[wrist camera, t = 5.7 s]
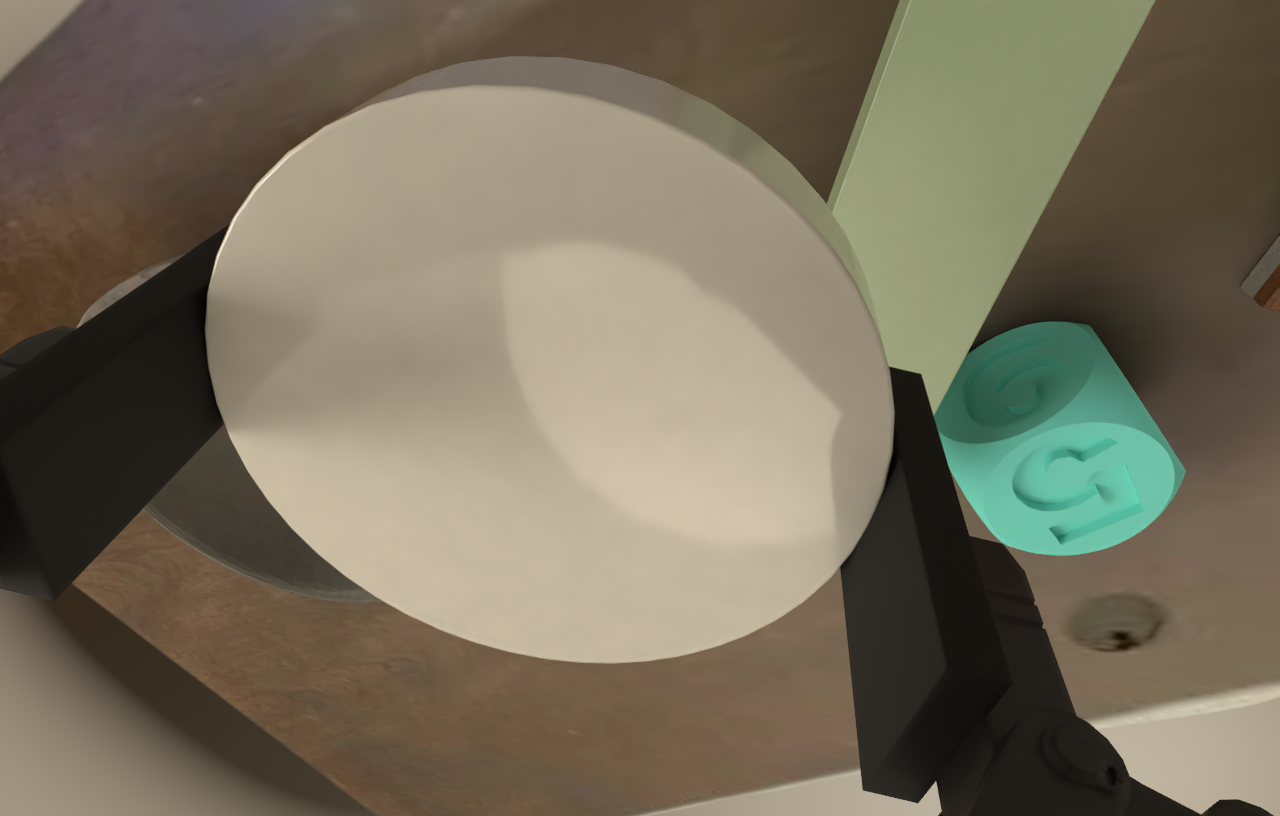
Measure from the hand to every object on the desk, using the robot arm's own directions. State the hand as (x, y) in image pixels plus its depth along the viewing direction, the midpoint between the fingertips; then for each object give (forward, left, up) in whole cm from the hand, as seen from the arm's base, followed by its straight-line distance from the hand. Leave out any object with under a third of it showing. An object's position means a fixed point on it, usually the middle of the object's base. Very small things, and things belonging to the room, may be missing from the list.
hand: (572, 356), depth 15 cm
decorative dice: (+11, +21, -24) cm, 34 cm away
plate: (0, 0, +1) cm, 1 cm away
